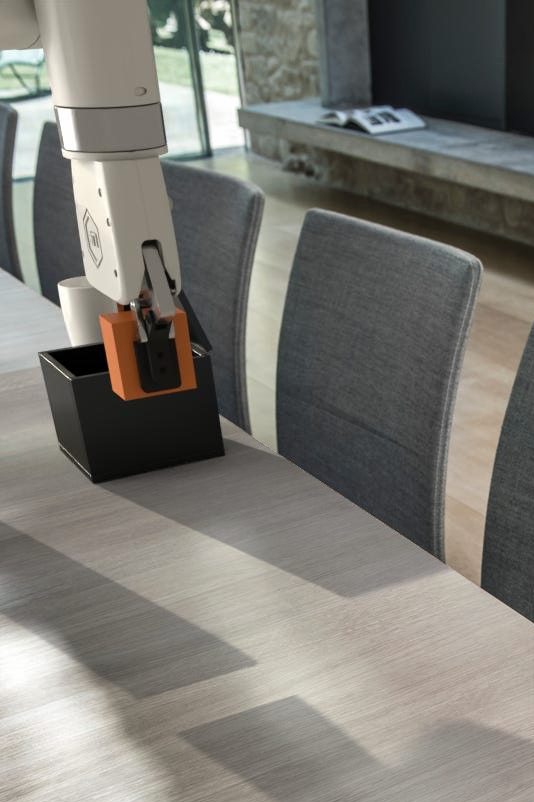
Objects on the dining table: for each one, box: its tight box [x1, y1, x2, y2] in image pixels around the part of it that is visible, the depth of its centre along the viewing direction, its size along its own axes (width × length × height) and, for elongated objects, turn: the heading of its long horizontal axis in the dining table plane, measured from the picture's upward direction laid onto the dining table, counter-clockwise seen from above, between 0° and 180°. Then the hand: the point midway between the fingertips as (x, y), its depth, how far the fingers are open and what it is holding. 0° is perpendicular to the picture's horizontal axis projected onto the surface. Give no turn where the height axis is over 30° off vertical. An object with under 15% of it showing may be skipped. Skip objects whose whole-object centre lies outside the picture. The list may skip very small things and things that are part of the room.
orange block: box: [99, 307, 197, 401], centre depth 92 cm, size 6×3×6 cm, turn 122°
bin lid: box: [149, 195, 214, 353], centre depth 120 cm, size 15×13×5 cm
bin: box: [37, 342, 226, 484], centre depth 124 cm, size 15×13×11 cm
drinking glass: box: [57, 275, 114, 347], centre depth 136 cm, size 7×7×15 cm
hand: (153, 381), depth 94 cm, fingers closed on orange block, 3 cm apart
